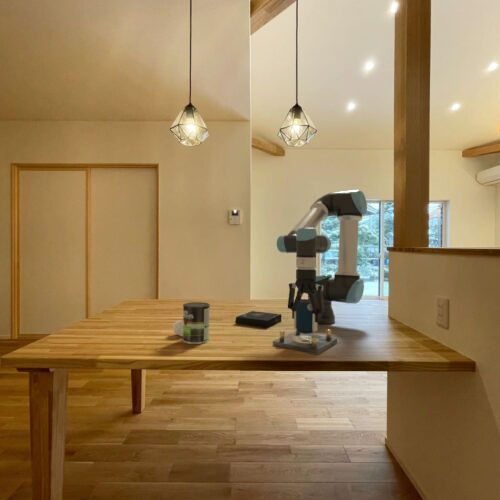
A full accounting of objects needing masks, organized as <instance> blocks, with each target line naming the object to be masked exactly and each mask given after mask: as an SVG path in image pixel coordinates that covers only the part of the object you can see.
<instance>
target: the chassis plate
mask: <svg viewBox="0 0 500 500" xmlns="http://www.w3.org/2000/svg"><path fill="white" fill-rule="evenodd" d="M337 343H338V338H336V337H332V329H330V328H328V329H327V328H326V329H325V335H320V334H319V335H318V334H314V333H311V334H302V333H299V332H298V331H297V329H295V331H293V332H291V333H288V334H286V335H285V330H279V338H277V339H274V340H272V346H274V347H275V346H276V347H280V348H285V349H289V350H294V351H298V352H303V353H307V354H312V355H313V354H314V355H319V354H321V353H323V352H324V351H326V350H327V349H329V348H330V347H333V346H335V345H336V344H337Z"/></svg>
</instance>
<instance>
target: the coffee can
mask: <svg viewBox="0 0 500 500" xmlns="http://www.w3.org/2000/svg"><path fill="white" fill-rule="evenodd" d="M182 307H183V311H182V312H183V314H182V315H183V319H182V320H183V336H182V342H183V344H184V343H185V344H189V345H201V344H205V343H208V342H210V307H211V304H210V303H207V302H201V301H200V302H195V301H193V302H186V303H184V304H182Z"/></svg>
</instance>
